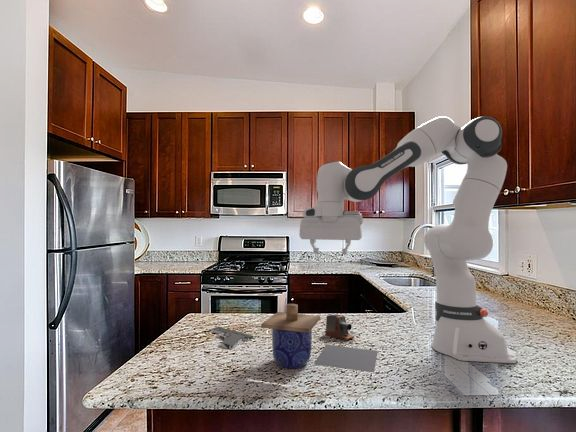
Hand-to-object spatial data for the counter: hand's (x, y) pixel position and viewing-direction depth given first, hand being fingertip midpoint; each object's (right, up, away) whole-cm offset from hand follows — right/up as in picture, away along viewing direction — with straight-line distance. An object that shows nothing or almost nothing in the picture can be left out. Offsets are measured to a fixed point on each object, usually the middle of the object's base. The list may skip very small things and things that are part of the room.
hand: (330, 253), depth 109 cm
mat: (+3, -29, -13) cm, 32 cm away
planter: (-13, -29, -17) cm, 36 cm away
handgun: (-35, -30, +4) cm, 46 cm away
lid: (-13, -17, -16) cm, 27 cm away
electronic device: (+4, -30, +5) cm, 30 cm away
